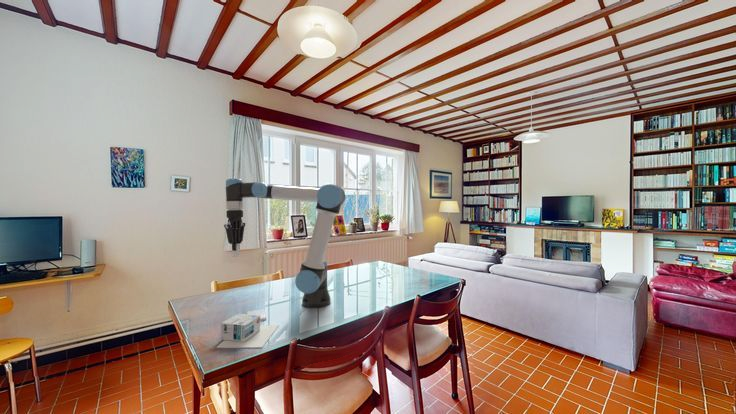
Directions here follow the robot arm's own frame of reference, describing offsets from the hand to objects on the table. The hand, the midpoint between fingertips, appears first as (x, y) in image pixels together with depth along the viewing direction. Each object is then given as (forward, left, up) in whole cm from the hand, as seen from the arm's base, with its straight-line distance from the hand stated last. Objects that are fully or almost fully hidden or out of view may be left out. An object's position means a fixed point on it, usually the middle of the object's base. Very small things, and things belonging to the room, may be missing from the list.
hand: (236, 256), depth 139 cm
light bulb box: (-9, +26, -24) cm, 36 cm away
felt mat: (-19, +27, -27) cm, 43 cm away
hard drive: (-13, +7, -28) cm, 32 cm away
